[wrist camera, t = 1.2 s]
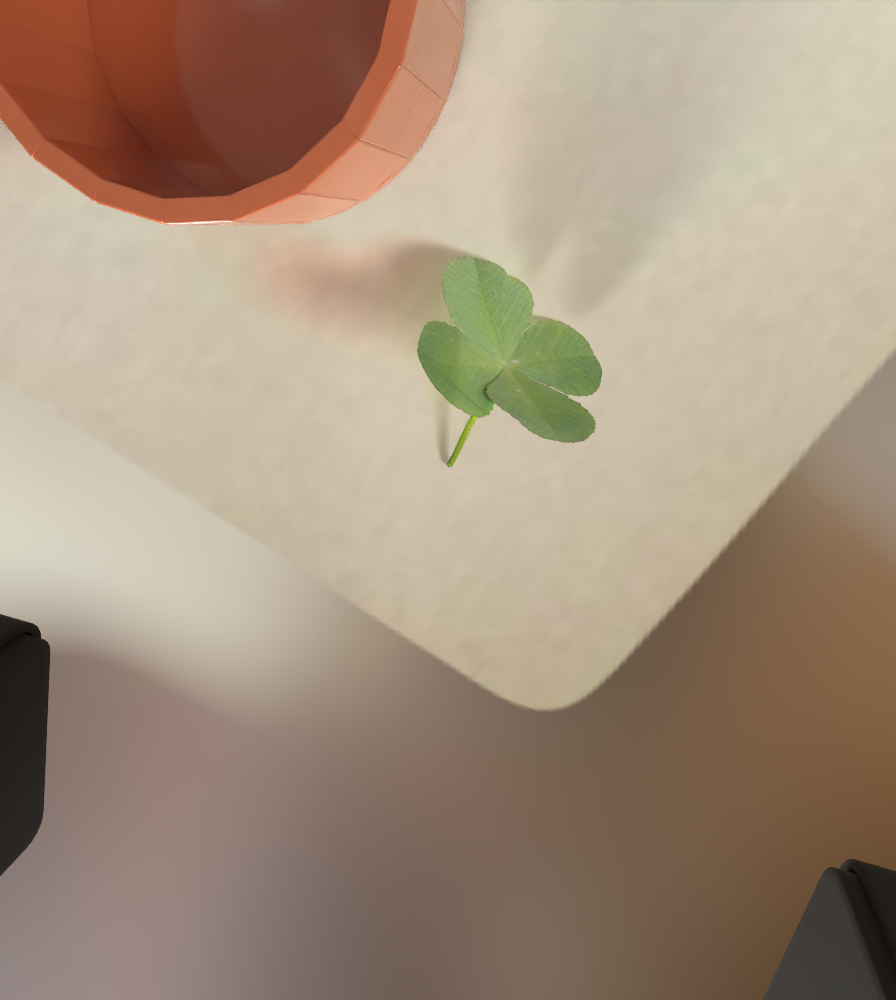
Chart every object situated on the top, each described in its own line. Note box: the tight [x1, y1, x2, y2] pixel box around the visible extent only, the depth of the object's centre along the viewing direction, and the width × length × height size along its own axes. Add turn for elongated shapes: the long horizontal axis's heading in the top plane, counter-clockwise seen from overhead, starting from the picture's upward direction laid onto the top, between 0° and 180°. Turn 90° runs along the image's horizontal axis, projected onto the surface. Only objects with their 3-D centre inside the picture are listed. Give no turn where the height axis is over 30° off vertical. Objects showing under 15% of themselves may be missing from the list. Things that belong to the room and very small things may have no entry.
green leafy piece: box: [417, 257, 602, 467], centre depth 29 cm, size 7×8×7 cm
